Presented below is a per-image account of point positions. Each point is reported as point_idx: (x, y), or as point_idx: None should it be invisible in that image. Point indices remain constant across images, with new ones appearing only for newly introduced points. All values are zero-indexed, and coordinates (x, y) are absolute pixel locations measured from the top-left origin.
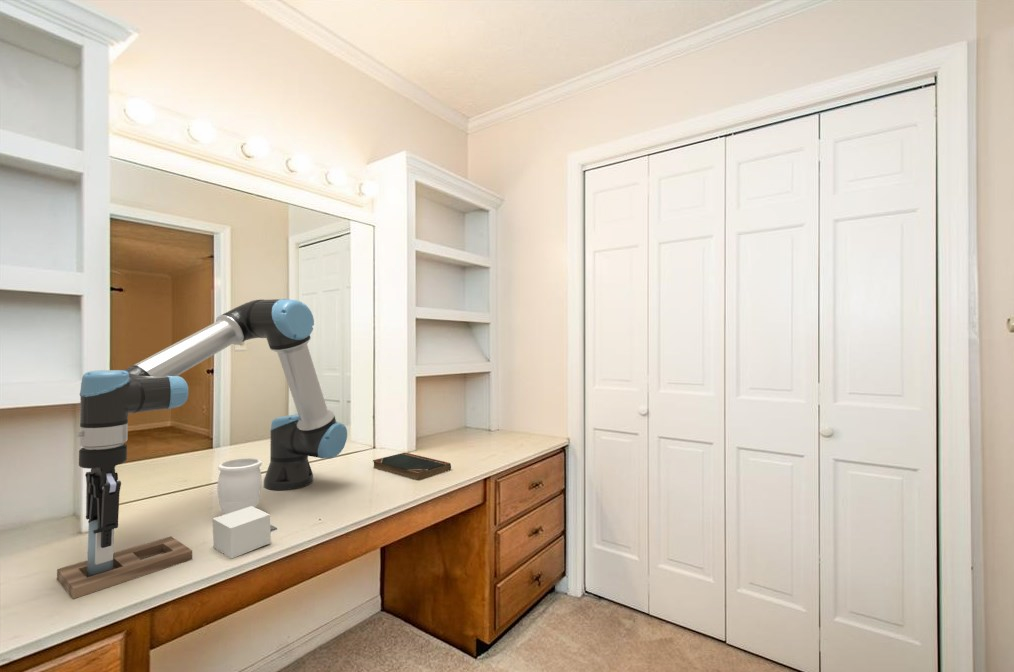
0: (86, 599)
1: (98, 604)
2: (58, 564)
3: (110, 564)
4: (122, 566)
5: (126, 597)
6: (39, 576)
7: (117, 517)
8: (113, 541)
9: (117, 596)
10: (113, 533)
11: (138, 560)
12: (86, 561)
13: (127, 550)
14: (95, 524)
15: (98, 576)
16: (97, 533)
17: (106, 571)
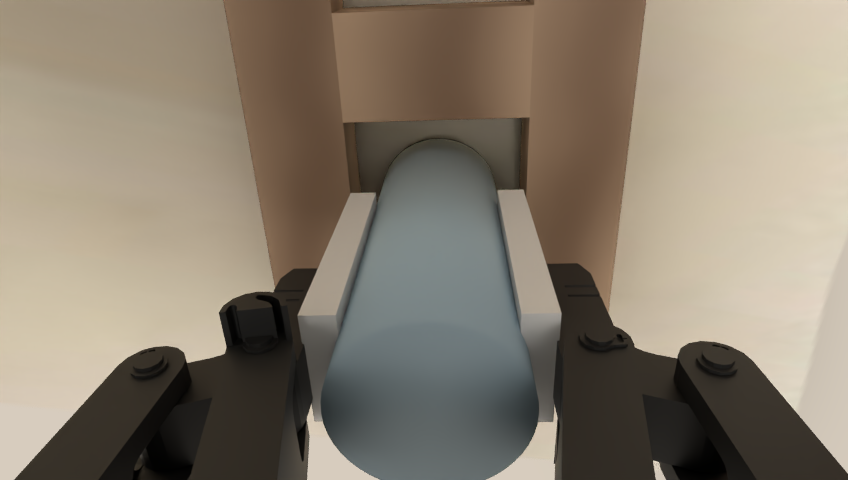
0: (648, 277)
1: (754, 256)
2: (104, 279)
3: (485, 179)
4: (514, 116)
5: (814, 157)
6: (209, 349)
7: (812, 445)
8: (466, 219)
9: (756, 183)
10: (552, 285)
11: (515, 22)
12: (279, 237)
13: (261, 26)
14: (484, 461)
15: (558, 240)
16: (552, 410)
17: (495, 188)
